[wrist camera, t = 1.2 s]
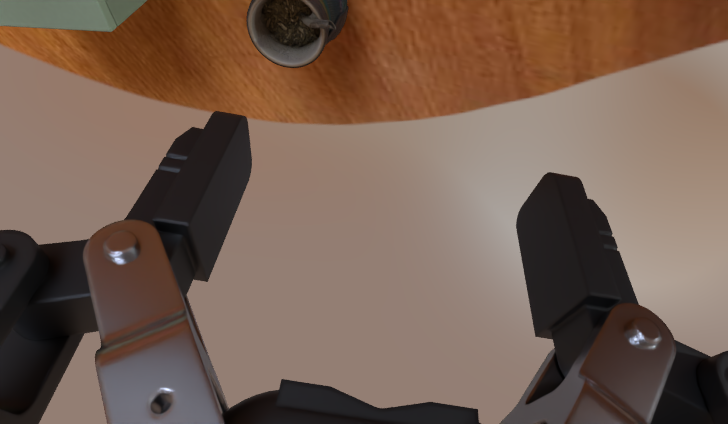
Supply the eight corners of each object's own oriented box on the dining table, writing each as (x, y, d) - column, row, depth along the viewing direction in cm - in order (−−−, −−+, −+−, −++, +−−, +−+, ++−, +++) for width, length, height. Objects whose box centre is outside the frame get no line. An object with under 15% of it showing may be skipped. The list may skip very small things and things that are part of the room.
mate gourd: (244, -31, 32) (197, 24, 25) (318, -93, 28) (286, -46, 22) (301, 45, 36) (274, 109, 29) (371, 0, 32) (358, 62, 26)
